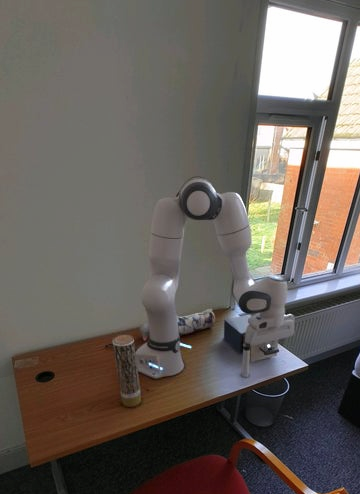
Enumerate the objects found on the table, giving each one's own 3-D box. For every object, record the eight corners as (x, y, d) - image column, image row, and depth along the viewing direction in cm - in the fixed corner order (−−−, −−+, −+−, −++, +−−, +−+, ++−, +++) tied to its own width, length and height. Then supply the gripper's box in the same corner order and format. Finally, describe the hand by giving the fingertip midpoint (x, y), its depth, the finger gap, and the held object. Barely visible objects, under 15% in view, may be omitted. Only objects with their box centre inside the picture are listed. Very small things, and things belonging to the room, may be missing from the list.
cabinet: (265, 347, 155) (267, 327, 150) (239, 353, 151) (240, 333, 146) (248, 333, 167) (249, 314, 162) (223, 338, 163) (224, 319, 158)
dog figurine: (168, 339, 165) (167, 318, 160) (140, 341, 165) (138, 320, 160) (168, 334, 170) (166, 313, 164) (141, 335, 170) (139, 315, 164)
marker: (240, 376, 137) (242, 345, 130) (242, 373, 139) (244, 342, 132) (247, 378, 136) (249, 347, 129) (249, 374, 138) (251, 344, 131)
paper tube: (143, 396, 129) (135, 334, 116) (139, 408, 123) (131, 345, 110) (124, 395, 129) (115, 334, 117) (120, 407, 123) (109, 344, 111)
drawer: (283, 361, 143) (285, 344, 139) (258, 368, 140) (260, 350, 136) (258, 341, 158) (260, 325, 154) (235, 346, 155) (236, 330, 151)
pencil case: (176, 340, 164) (175, 321, 159) (168, 333, 171) (167, 314, 166) (216, 329, 172) (217, 310, 167) (207, 322, 179) (207, 304, 174)
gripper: (290, 310, 139) (285, 341, 146) (244, 319, 133) (241, 351, 140) (300, 316, 134) (295, 348, 141) (252, 326, 128) (250, 359, 135)
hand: (268, 349), depth 141 cm, fingers closed
